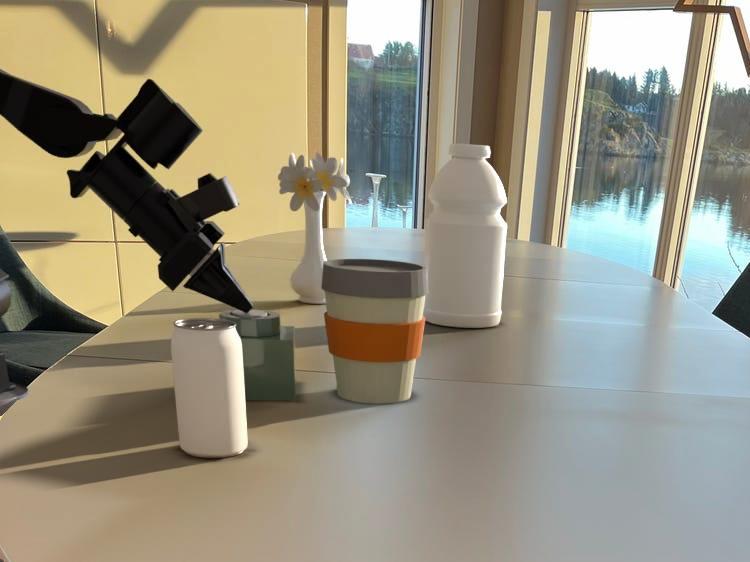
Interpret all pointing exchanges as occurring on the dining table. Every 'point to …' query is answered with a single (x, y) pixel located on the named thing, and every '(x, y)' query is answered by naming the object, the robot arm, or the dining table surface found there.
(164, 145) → the robot arm
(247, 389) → the button housing
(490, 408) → the dining table surface
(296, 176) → the flower vase
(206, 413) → the can
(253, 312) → the white button cap
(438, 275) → the bottle
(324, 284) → the reusable coffee cup
